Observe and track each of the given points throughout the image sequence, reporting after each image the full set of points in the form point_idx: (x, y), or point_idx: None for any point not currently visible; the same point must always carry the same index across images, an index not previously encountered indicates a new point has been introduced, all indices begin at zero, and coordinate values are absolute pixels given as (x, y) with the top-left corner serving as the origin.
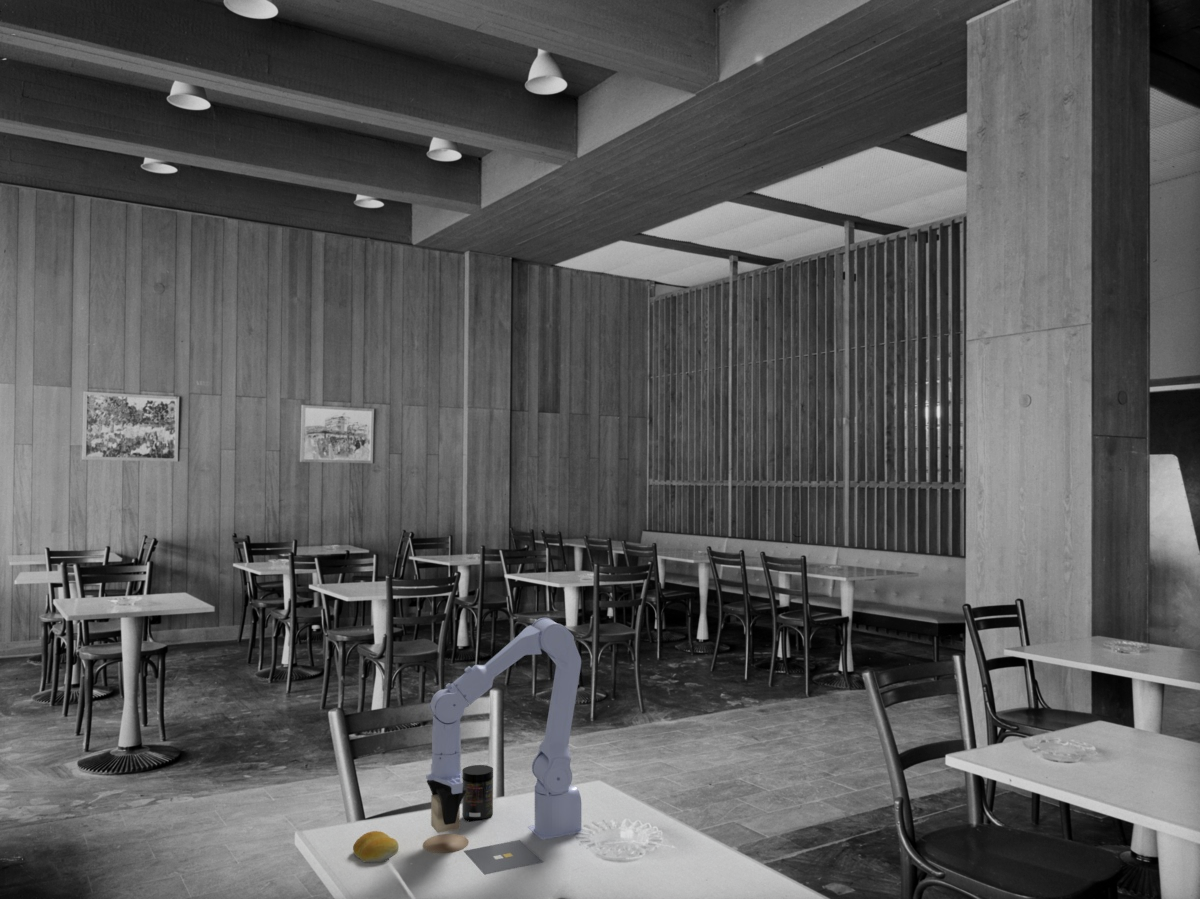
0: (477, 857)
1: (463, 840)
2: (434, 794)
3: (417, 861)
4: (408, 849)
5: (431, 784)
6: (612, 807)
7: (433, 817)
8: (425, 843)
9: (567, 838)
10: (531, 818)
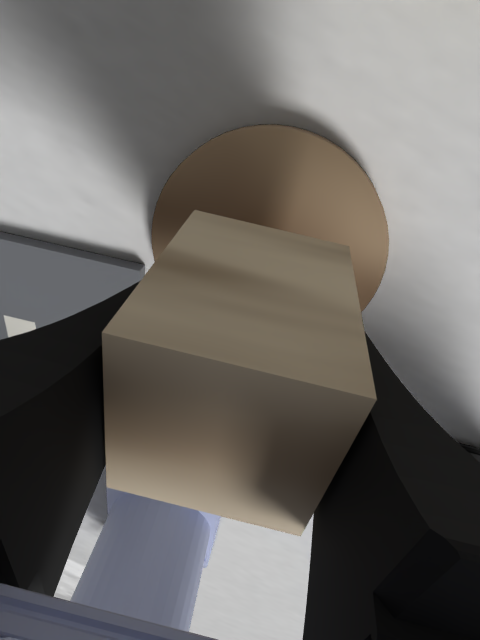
0: (47, 276)
1: None
2: (369, 430)
3: (180, 5)
4: (390, 49)
5: (412, 540)
6: (222, 625)
7: (290, 265)
8: (334, 164)
9: (106, 510)
10: (290, 539)
